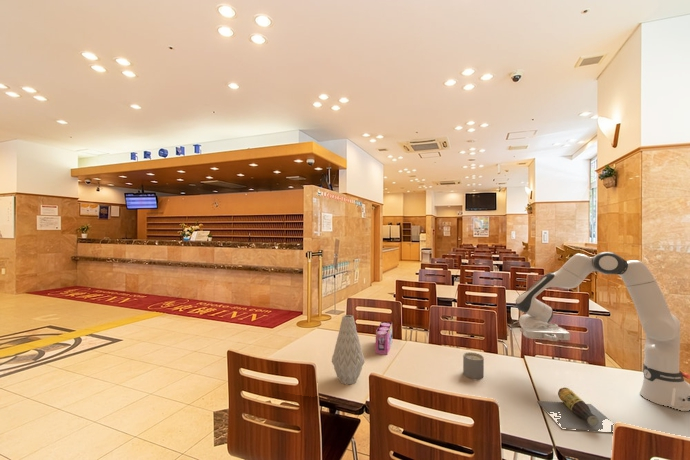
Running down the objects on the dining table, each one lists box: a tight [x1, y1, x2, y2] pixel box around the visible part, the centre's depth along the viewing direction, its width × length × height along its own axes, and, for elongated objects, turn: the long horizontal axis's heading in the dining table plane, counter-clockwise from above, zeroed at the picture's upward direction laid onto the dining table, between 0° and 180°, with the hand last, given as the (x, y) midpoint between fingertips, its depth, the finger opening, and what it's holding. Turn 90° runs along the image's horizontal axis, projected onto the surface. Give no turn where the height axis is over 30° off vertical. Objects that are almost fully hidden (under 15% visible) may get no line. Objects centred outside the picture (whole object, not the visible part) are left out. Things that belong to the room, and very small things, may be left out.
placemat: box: [536, 400, 615, 432], centre depth 127 cm, size 22×19×1 cm
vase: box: [331, 314, 365, 385], centre depth 158 cm, size 17×17×33 cm
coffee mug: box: [462, 351, 485, 380], centre depth 165 cm, size 13×10×10 cm
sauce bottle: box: [557, 387, 599, 426], centre depth 128 cm, size 6×6×20 cm
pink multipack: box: [374, 321, 393, 355], centre depth 201 cm, size 24×8×14 cm, turn 164°
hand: (554, 339), depth 146 cm, fingers closed
